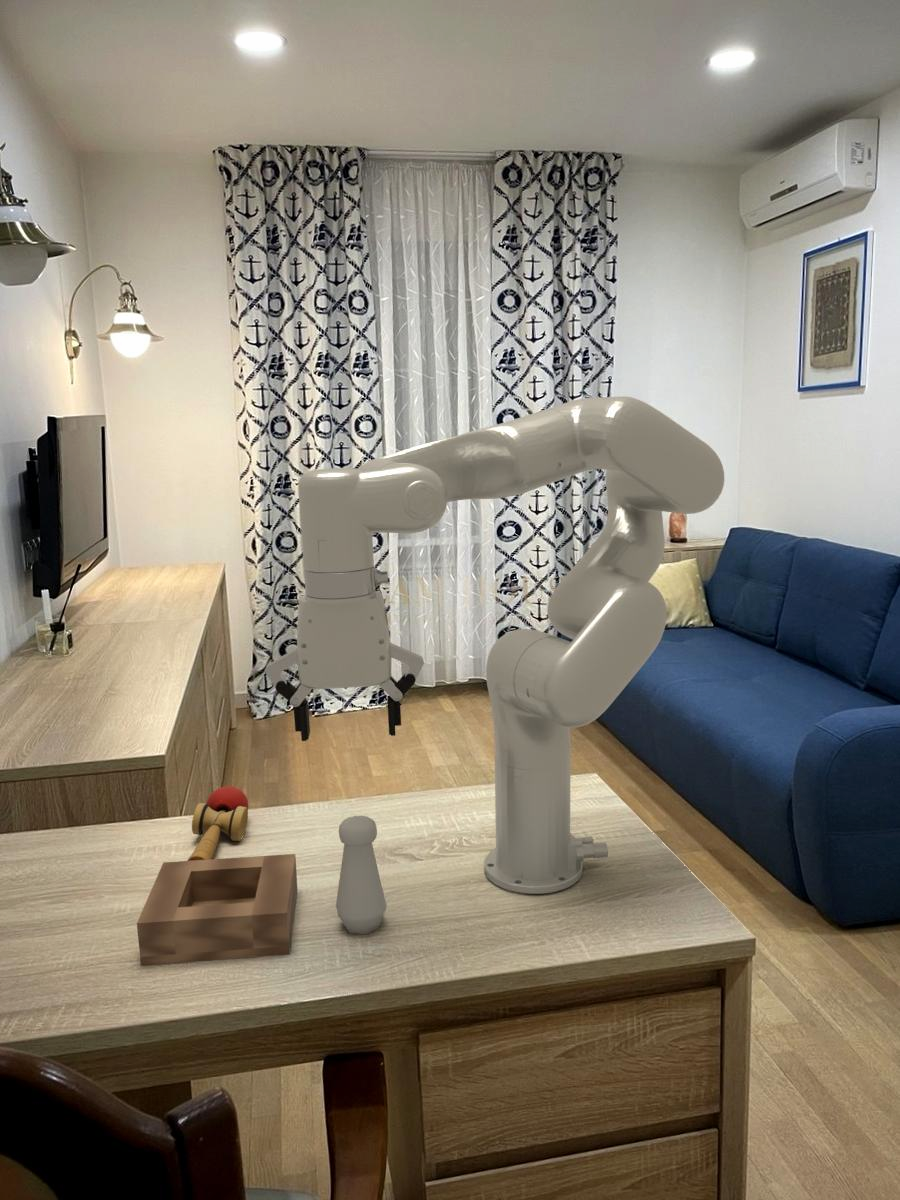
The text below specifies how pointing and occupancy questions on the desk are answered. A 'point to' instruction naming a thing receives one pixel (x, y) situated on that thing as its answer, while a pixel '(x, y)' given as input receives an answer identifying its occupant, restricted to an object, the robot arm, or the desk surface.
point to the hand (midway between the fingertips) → (349, 734)
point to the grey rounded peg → (359, 877)
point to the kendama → (219, 820)
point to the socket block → (219, 910)
